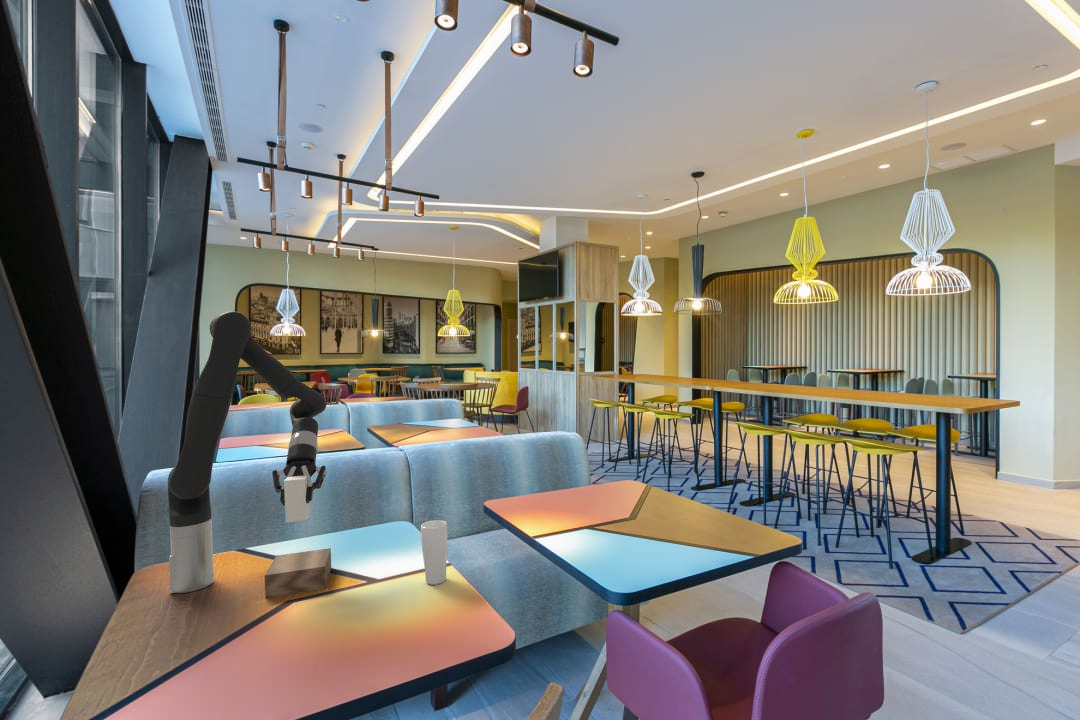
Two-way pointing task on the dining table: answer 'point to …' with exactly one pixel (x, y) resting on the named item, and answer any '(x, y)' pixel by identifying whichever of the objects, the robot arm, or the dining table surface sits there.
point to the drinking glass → (434, 550)
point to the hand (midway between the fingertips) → (296, 502)
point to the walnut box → (298, 572)
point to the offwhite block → (296, 499)
